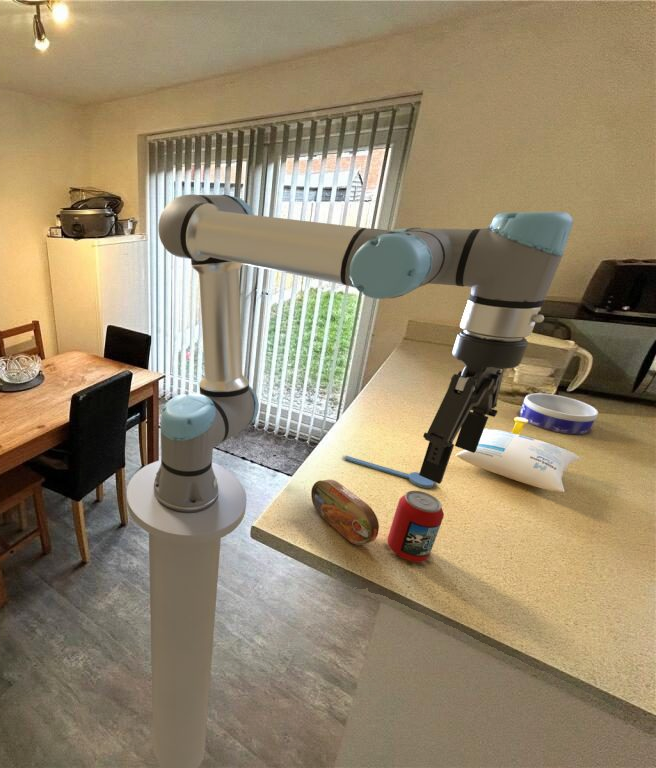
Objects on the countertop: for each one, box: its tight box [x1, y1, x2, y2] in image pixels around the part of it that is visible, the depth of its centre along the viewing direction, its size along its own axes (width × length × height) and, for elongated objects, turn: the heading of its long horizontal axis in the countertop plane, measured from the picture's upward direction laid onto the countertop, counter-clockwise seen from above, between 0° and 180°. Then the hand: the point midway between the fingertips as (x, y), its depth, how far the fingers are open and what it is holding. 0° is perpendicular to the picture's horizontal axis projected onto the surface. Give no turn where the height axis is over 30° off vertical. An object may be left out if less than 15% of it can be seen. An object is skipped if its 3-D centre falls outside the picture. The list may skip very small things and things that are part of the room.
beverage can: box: [386, 490, 445, 563], centre depth 72 cm, size 7×7×12 cm
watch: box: [511, 416, 529, 435], centre depth 108 cm, size 6×3×6 cm, turn 129°
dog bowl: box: [519, 392, 599, 435], centre depth 116 cm, size 15×15×6 cm
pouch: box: [455, 428, 581, 493], centre depth 95 cm, size 8×19×20 cm
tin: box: [310, 479, 380, 546], centre depth 79 cm, size 15×3×8 cm, turn 19°
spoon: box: [344, 455, 435, 489], centre depth 96 cm, size 19×5×1 cm, turn 53°
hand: (448, 463), depth 62 cm, fingers open, 13 cm apart
